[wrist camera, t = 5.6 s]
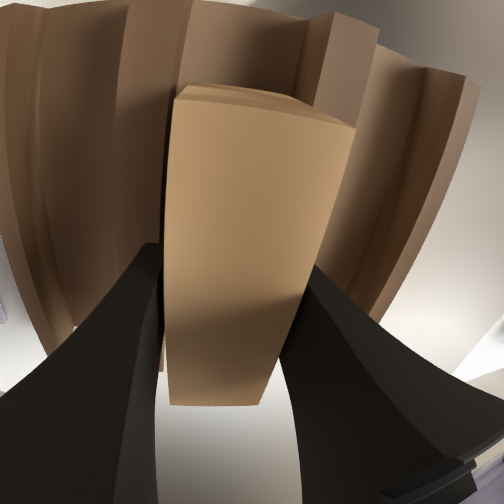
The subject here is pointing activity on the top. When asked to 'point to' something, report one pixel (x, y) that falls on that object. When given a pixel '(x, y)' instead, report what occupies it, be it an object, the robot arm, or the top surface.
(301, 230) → the tall wooden plank
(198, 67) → the notched ledge
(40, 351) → the top surface
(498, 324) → the top surface
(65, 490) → the robot arm
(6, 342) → the top surface
